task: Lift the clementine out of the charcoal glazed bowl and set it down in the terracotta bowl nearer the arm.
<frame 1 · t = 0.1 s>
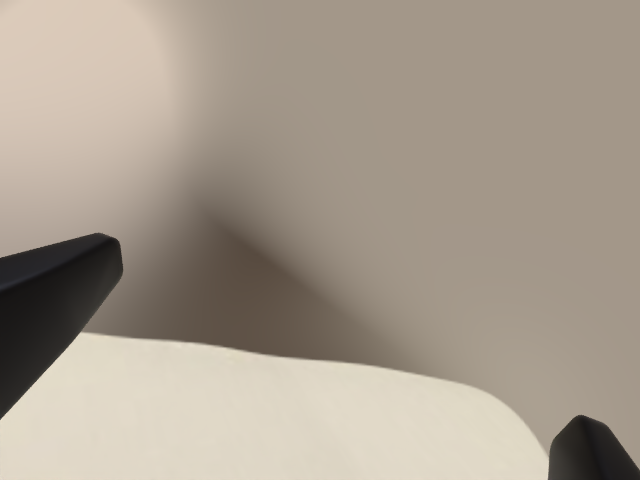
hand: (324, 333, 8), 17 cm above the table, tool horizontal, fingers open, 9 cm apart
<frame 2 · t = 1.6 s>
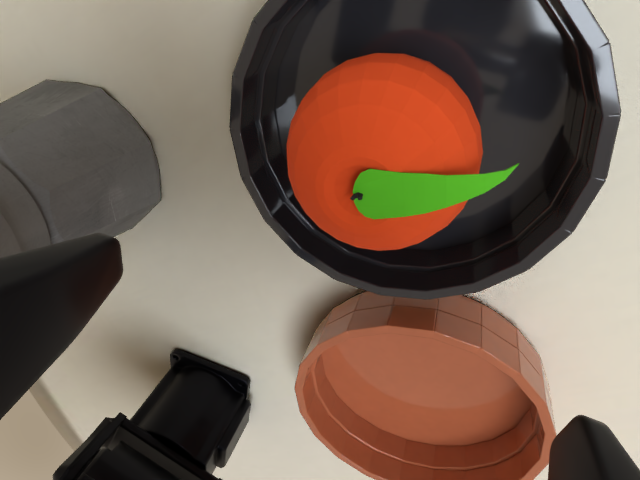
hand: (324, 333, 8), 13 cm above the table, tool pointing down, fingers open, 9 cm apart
charcoal bowl: (411, 123, 19), on the table
coffeepot: (87, 160, 26), on the table
terracotta bowl: (420, 372, 26), on the table
clementine: (410, 125, 18), resting on charcoal bowl
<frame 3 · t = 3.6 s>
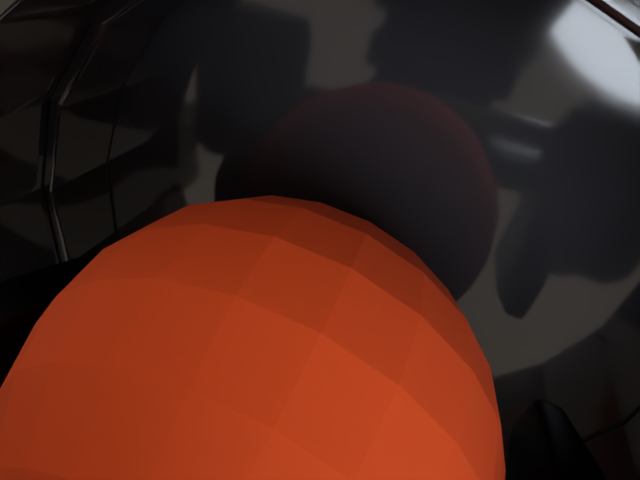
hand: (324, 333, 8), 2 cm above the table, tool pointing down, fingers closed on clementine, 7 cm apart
charcoal bowl: (358, 273, 10), on the table
clementine: (355, 281, 9), resting on charcoal bowl, touching gripper
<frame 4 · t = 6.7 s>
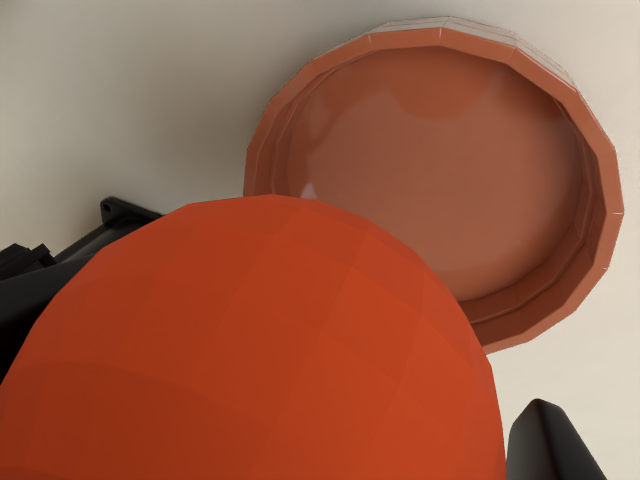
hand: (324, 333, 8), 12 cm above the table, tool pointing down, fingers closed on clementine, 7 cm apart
terracotta bowl: (419, 187, 19), on the table
clementine: (356, 280, 9), point 10 cm above the table, touching gripper
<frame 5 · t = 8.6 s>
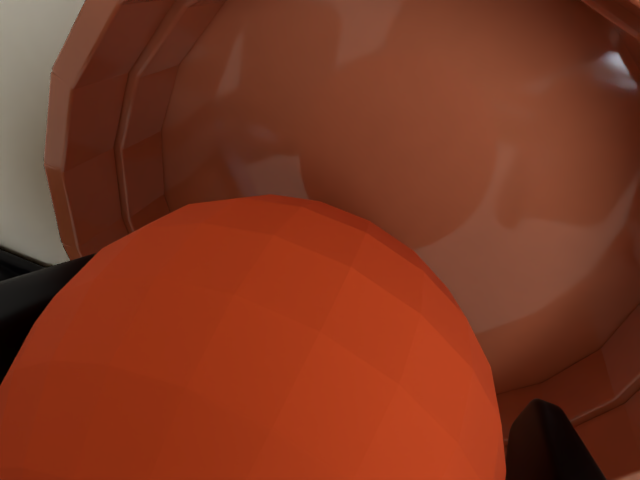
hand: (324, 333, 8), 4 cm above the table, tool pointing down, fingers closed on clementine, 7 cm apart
terracotta bowl: (377, 224, 11), on the table
clementine: (355, 280, 9), point 2 cm above the table, touching gripper
when the fingers open (2 cm above the table, at t = 9.9 s): clementine stays where it is, resting on terracotta bowl.
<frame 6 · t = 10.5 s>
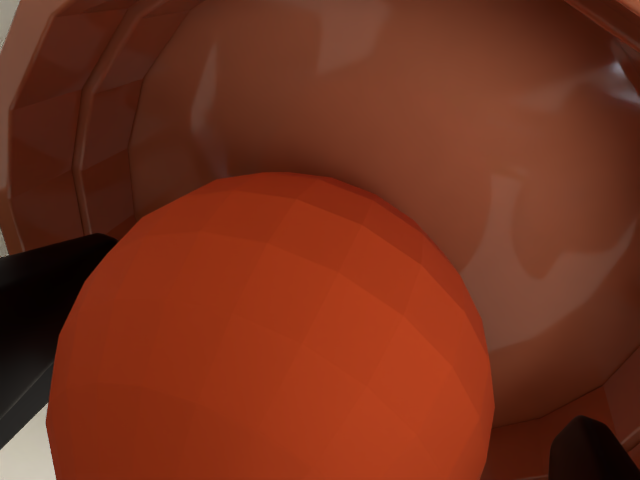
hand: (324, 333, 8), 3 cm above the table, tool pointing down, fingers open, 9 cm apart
terracotta bowl: (361, 249, 10), on the table
clementine: (360, 257, 10), resting on terracotta bowl
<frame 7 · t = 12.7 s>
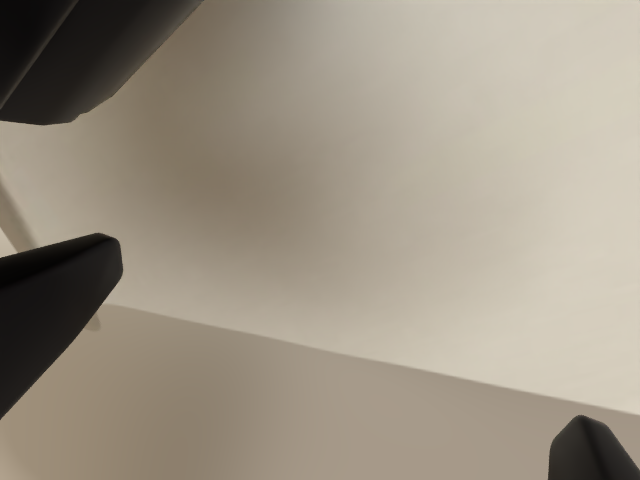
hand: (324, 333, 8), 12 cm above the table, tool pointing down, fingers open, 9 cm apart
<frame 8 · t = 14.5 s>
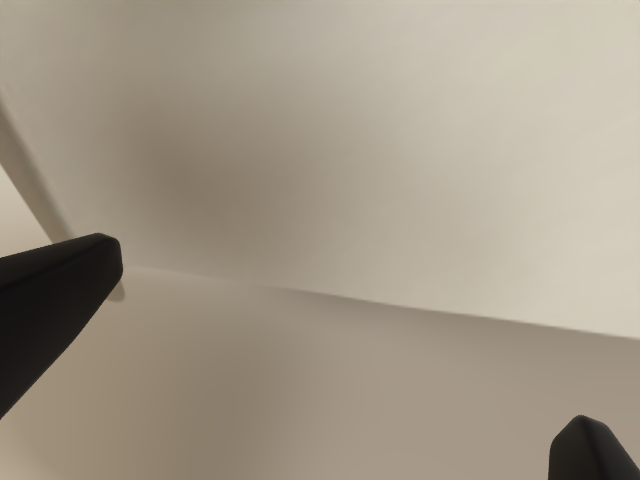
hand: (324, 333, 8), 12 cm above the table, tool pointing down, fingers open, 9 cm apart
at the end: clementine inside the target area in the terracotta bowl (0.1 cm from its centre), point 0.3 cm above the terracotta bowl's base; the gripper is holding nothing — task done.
